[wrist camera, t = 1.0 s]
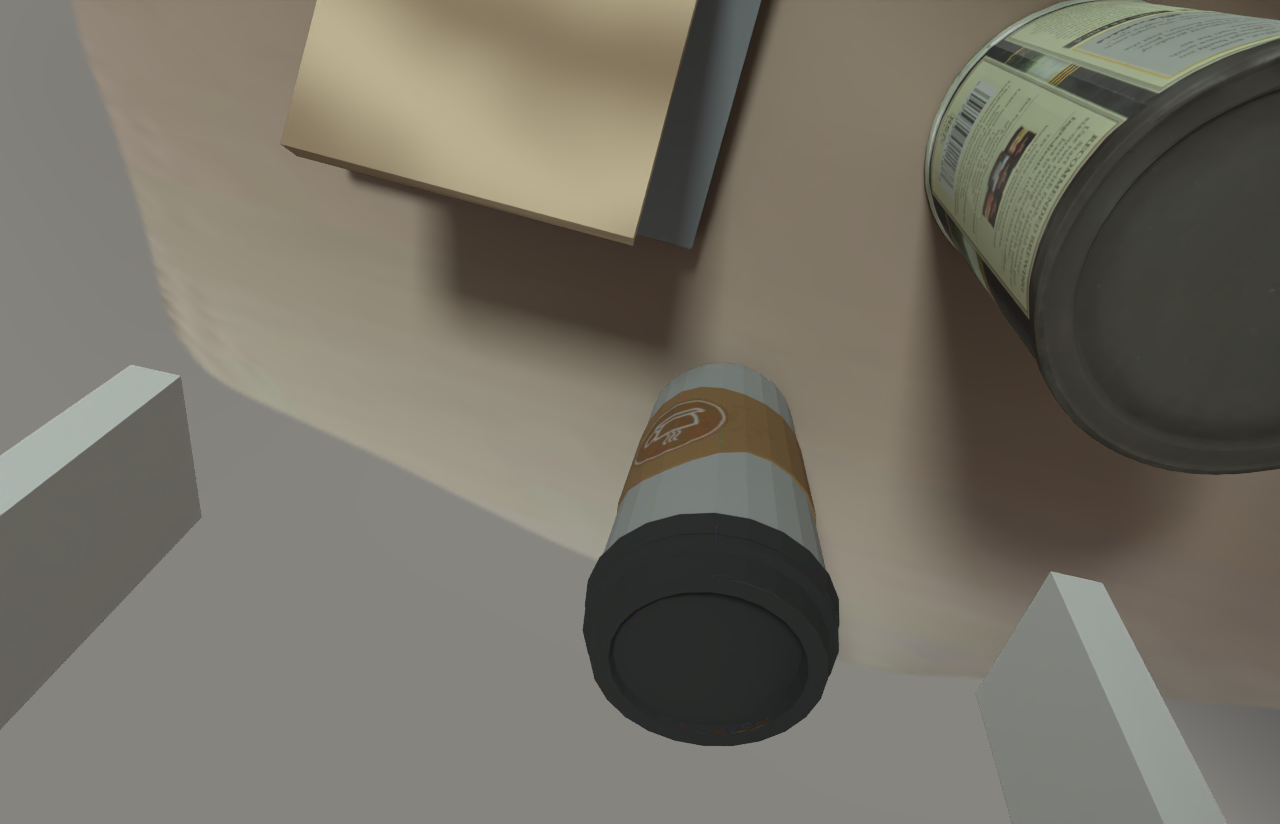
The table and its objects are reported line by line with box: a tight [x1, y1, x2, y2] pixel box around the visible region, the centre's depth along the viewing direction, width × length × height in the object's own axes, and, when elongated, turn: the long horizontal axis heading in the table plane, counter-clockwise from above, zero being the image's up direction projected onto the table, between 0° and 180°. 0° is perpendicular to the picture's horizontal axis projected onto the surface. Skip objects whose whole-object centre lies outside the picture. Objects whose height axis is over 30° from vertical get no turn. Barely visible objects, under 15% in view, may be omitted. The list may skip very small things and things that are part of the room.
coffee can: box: [925, 0, 1280, 475], centre depth 24 cm, size 10×10×14 cm
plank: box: [280, 0, 698, 246], centre depth 25 cm, size 12×11×1 cm
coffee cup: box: [583, 363, 839, 746], centre depth 31 cm, size 8×8×15 cm
